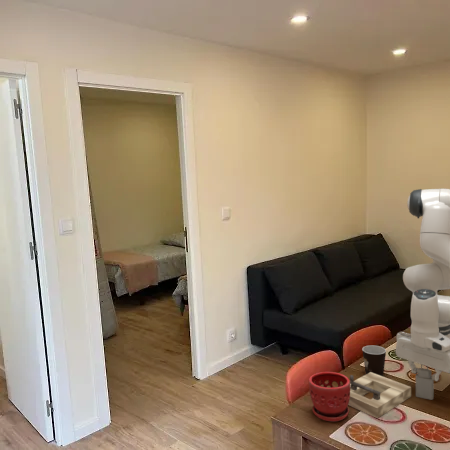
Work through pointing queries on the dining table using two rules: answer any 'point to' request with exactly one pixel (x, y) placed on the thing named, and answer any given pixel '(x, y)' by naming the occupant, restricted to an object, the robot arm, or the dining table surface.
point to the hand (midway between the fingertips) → (424, 376)
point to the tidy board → (377, 394)
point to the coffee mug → (374, 359)
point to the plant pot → (330, 396)
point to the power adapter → (424, 384)
